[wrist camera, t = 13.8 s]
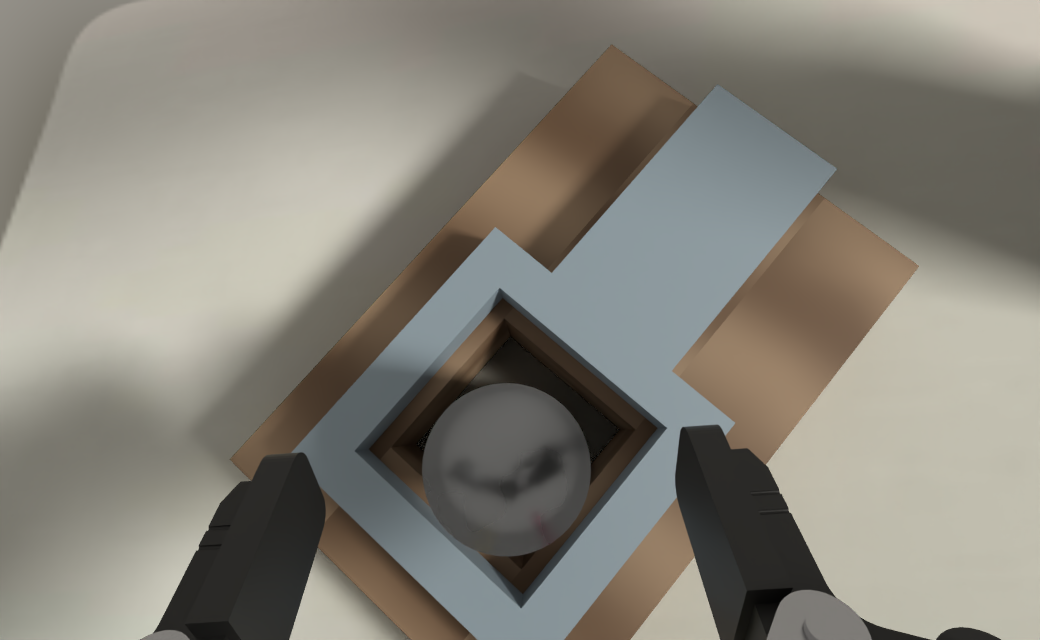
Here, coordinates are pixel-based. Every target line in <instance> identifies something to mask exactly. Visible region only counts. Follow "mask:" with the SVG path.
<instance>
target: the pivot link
mask: <svg viewBox="0 0 1040 640" xmlns="http://www.w3.org/2000/svg"><path fill="white" fill-rule="evenodd" d="M836 170H837V168H835V167H834V166H832V165H831V164H830V163H828V162H827V161H825V160H824V159H823V158H821V157H820V156H818V155H817V154H816V153H814V152H813V151H811V150H810V149H808V148H807V147H806V146H804V145H803V144H801V143H800V142H799V141H797V140H796V139H794V138H793V137H792V136H790V135H789V134H787V133H786V132H784V131H783V130H782V129H780V128H779V127H777V126H776V125H775V124H773V123H772V122H770V121H769V120H768V119H766V118H765V117H763V116H762V115H760V114H759V113H758V112H756V111H755V110H753V109H752V108H751V107H749V106H748V105H746V104H745V103H744V102H742V101H741V100H739V99H738V98H736V97H735V96H734V95H732V94H731V93H729V92H728V91H727V90H725V89H724V88H722V87H721V86H720V85H718V84H717V85H716V86H715V88H714V89H713V90H712V91H711V92H710V93H709V94H708V96H707V97H706V98H705V99H704V100H703V101H702V102H701V104H700V105H699V106H698V107H697V108H696V109H695V110H694V112H693V113H692V114H691V115H690V116H689V117H688V118H687V119H686V121H685V122H684V123H683V124H682V125H681V126H680V127H679V129H678V130H677V131H676V132H675V133H674V134H673V135H672V137H671V138H670V139H669V140H668V141H667V142H666V143H665V145H664V146H663V147H662V148H661V149H660V150H659V151H658V153H657V154H656V155H655V156H654V157H653V158H652V159H651V161H650V162H649V163H648V164H647V165H646V166H645V167H644V169H643V170H642V171H641V172H640V173H639V174H638V175H637V176H636V178H635V179H634V180H633V181H632V182H631V183H630V184H629V186H628V187H627V188H626V189H625V190H624V191H623V192H622V194H621V195H620V196H619V197H618V198H617V199H616V200H615V202H614V203H613V204H612V205H611V206H610V207H609V208H608V210H607V211H606V212H605V213H604V214H603V215H602V216H601V218H600V219H599V220H598V221H597V222H596V223H595V224H594V226H593V227H592V228H591V229H590V230H589V231H588V232H587V233H586V235H585V236H584V237H583V238H582V239H581V240H580V241H579V243H578V244H577V245H576V246H575V247H574V248H573V249H572V251H571V252H570V253H569V254H568V255H567V256H566V257H565V259H564V260H563V261H562V262H561V263H560V264H559V265H558V267H557V268H556V269H555V270H554V271H553V272H552V273H551V272H550V271H549V270H547V269H546V268H545V267H544V266H543V265H541V264H540V263H539V262H538V261H536V260H535V259H534V258H533V257H532V256H530V255H529V254H528V253H527V252H525V251H524V250H523V249H522V248H521V247H519V246H518V245H517V244H516V243H514V242H513V241H512V240H511V239H509V238H508V237H507V236H506V235H505V234H503V233H502V232H501V231H500V230H498V229H497V228H496V227H495V228H494V229H493V230H492V231H491V232H490V234H489V235H488V236H487V237H486V238H485V239H484V240H483V241H482V242H481V244H480V245H479V246H478V247H477V248H476V249H475V250H474V251H473V252H472V253H471V255H470V256H469V257H468V258H467V259H466V260H465V261H464V262H463V263H462V265H461V266H460V267H459V268H458V269H457V270H456V271H455V272H454V273H453V274H452V276H451V277H450V278H449V279H448V280H447V281H446V282H445V283H444V284H443V286H442V287H441V288H440V289H439V290H438V291H437V292H436V293H435V294H434V295H433V297H432V298H431V299H430V300H429V301H428V302H427V303H426V304H425V305H424V306H423V308H422V309H421V310H420V311H419V312H418V313H417V314H416V315H415V316H414V318H413V319H412V320H411V321H410V322H409V323H408V324H407V325H406V326H405V327H404V329H403V330H402V331H401V332H400V333H399V334H398V335H397V336H396V337H395V339H394V340H393V341H392V342H391V343H390V344H389V345H388V346H387V347H386V348H385V350H384V351H383V352H382V353H381V354H380V355H379V356H378V357H377V358H376V360H375V361H374V362H373V363H372V364H371V365H370V366H369V367H368V368H367V369H366V371H365V372H364V373H363V374H362V375H361V376H360V377H359V378H358V379H357V381H356V382H355V383H354V384H353V385H352V386H351V387H350V388H349V389H348V390H347V392H346V393H345V394H344V395H343V396H342V397H341V398H340V399H339V400H338V402H337V403H336V404H335V405H334V406H333V407H332V408H331V409H330V410H329V411H328V413H327V414H326V415H325V416H324V417H323V418H322V419H321V420H320V421H319V422H318V424H317V425H316V426H315V427H314V428H313V429H312V430H311V431H310V432H309V434H308V435H307V436H306V437H305V438H304V439H303V440H302V441H301V442H300V443H299V445H298V446H297V447H296V448H295V449H294V450H293V451H292V452H291V453H299V452H303V453H304V454H305V455H306V456H307V458H308V460H309V462H310V465H311V467H312V470H313V472H314V474H315V477H316V479H317V482H318V484H319V486H320V487H321V488H322V489H323V490H324V491H325V492H326V493H327V494H328V495H329V496H330V497H331V498H332V499H333V500H334V501H335V502H336V503H337V504H338V505H339V506H340V507H341V508H342V509H343V510H344V511H346V512H347V513H348V514H349V515H350V516H351V517H352V518H353V519H354V520H355V521H356V522H357V523H358V524H359V525H360V526H361V527H362V528H363V529H364V530H365V531H366V532H367V533H368V534H369V535H370V536H371V537H372V538H373V539H374V540H375V541H376V542H377V543H378V544H379V545H380V546H382V547H383V548H384V549H385V550H386V551H387V552H388V553H389V554H390V555H391V556H392V557H393V558H394V559H395V560H396V561H397V562H398V563H399V564H400V565H401V566H402V567H403V568H404V569H405V570H406V571H407V572H408V573H409V574H410V575H411V576H412V577H413V578H414V579H415V580H417V581H418V582H419V583H420V584H421V585H422V586H423V587H424V588H425V589H426V590H427V591H428V592H429V593H430V594H431V595H432V596H433V597H434V598H435V599H436V600H437V601H438V602H439V603H440V604H441V605H442V606H443V607H444V608H445V609H446V610H447V611H448V612H449V613H450V614H452V615H453V616H454V617H455V618H456V619H457V620H458V621H459V622H460V623H461V624H462V625H463V626H464V627H465V628H466V629H467V630H468V631H469V632H470V633H471V634H472V635H473V636H474V637H475V638H476V639H477V640H564V639H565V638H566V637H567V635H568V634H569V633H570V632H571V630H572V629H573V628H574V627H575V625H576V624H577V623H578V622H579V620H580V619H581V618H582V617H583V615H584V614H585V613H586V611H587V610H588V609H589V608H590V606H591V605H592V604H593V603H594V601H595V600H596V599H597V598H598V596H599V595H600V594H601V592H602V591H603V590H604V589H605V587H606V586H607V585H608V584H609V582H610V581H611V580H612V579H613V577H614V576H615V575H616V574H617V572H618V571H619V570H620V568H621V567H622V566H623V565H624V563H625V562H626V561H627V560H628V558H629V557H630V556H631V555H632V553H633V552H634V551H635V549H636V548H637V547H638V546H639V544H640V543H641V542H642V541H643V539H644V538H645V537H646V536H647V534H648V533H649V532H650V531H651V529H652V528H653V527H654V525H655V524H656V523H657V522H658V520H659V519H660V518H661V517H662V515H663V514H664V513H665V512H666V510H667V509H668V508H669V506H670V505H671V504H672V503H673V501H674V500H675V499H676V498H677V495H676V487H675V471H676V462H677V454H678V445H679V437H680V430H681V428H682V427H688V426H702V425H716V424H718V425H719V426H720V427H721V428H722V430H723V432H724V434H725V436H726V434H727V433H728V432H729V431H730V429H731V428H732V427H733V426H734V424H735V422H734V421H732V420H731V419H730V418H729V417H727V416H726V415H725V414H724V413H723V412H721V411H720V410H719V409H718V408H716V407H715V406H714V405H713V404H712V403H710V402H709V401H708V400H707V399H705V398H704V397H703V396H702V395H701V394H699V393H698V392H697V391H696V390H694V389H693V388H692V387H691V386H689V385H688V384H687V383H686V382H685V381H683V380H682V379H681V378H680V377H678V376H677V375H676V374H675V373H674V372H672V370H673V369H674V367H675V366H676V365H677V364H678V363H679V361H680V360H681V359H682V358H683V357H684V355H685V354H686V353H687V352H688V350H689V349H690V348H691V347H692V346H693V344H694V343H695V342H696V341H697V339H698V338H699V337H700V336H701V335H702V333H703V332H704V331H705V330H706V328H707V327H708V326H709V325H710V324H711V322H712V321H713V320H714V319H715V317H716V316H717V315H718V314H719V313H720V311H721V310H722V309H723V308H724V307H725V305H726V304H727V303H728V302H729V300H730V299H731V298H732V297H733V296H734V294H735V293H736V292H737V291H738V289H739V288H740V287H741V286H742V285H743V283H744V282H745V281H746V280H747V278H748V277H749V276H750V275H751V274H752V272H753V271H754V270H755V269H756V267H757V266H758V265H759V264H760V263H761V261H762V260H763V259H764V258H765V257H766V255H767V254H768V253H769V252H770V250H771V249H772V248H773V247H774V246H775V244H776V243H777V242H778V241H779V239H780V238H781V237H782V236H783V235H784V233H785V232H786V231H787V230H788V228H789V227H790V226H791V225H792V224H793V222H794V221H795V220H796V219H797V217H798V216H799V215H800V214H801V213H802V211H803V210H804V209H805V208H806V207H807V205H808V204H809V203H810V202H811V200H812V199H813V198H814V197H815V196H816V194H817V193H818V192H819V191H820V189H821V188H822V187H823V186H824V185H825V183H826V182H827V181H828V180H829V178H830V177H831V176H832V175H833V174H834V172H835V171H836ZM502 298H503V299H505V300H506V301H507V302H508V303H509V304H511V305H512V306H513V307H514V308H515V309H516V310H518V311H519V312H520V313H521V314H522V315H524V316H525V317H526V318H527V319H528V320H530V321H531V322H532V323H533V324H534V325H536V326H537V327H538V328H539V329H540V330H541V331H543V332H544V333H545V334H546V335H547V336H549V337H550V338H551V339H552V340H553V341H555V342H556V343H557V344H558V345H559V346H561V347H562V348H563V349H564V350H565V351H566V352H568V353H569V354H570V355H571V356H572V357H574V358H575V359H576V360H577V361H578V362H580V363H581V364H582V365H583V366H584V367H586V368H587V369H588V370H589V371H590V372H591V373H593V374H594V375H595V376H596V377H597V378H599V379H600V380H601V381H602V382H603V383H605V384H606V385H607V386H608V387H609V388H611V389H612V390H613V391H614V392H615V393H616V394H618V395H619V396H620V397H621V398H622V399H624V400H625V401H626V402H627V403H628V404H630V405H631V406H632V407H633V408H634V409H636V410H637V411H638V412H639V413H640V414H641V415H643V416H644V417H645V418H646V419H647V420H649V421H650V422H651V423H652V424H653V425H655V426H656V427H657V429H656V431H655V432H654V433H653V434H652V436H651V437H650V438H649V439H648V441H647V442H646V443H645V444H644V446H643V447H642V448H641V449H640V450H639V452H638V453H637V454H636V455H635V457H634V458H633V459H632V460H631V462H630V463H629V464H628V465H627V466H626V468H625V469H624V470H623V471H622V473H621V474H620V475H619V476H618V478H617V479H616V480H615V481H614V482H613V484H612V485H611V486H610V487H609V489H608V490H607V491H606V492H605V494H604V495H603V496H602V497H601V499H600V500H599V501H598V502H597V503H596V505H595V506H594V507H593V508H592V510H591V511H590V512H589V513H588V515H587V516H586V517H585V518H584V519H583V521H582V522H581V523H580V524H579V526H578V527H577V528H576V529H575V531H574V532H573V533H572V534H571V536H570V537H569V538H568V539H567V540H566V542H565V543H564V544H563V545H562V547H561V548H560V549H559V550H558V552H557V553H556V554H555V555H554V556H553V558H552V559H551V560H550V561H549V563H548V564H547V565H546V566H545V568H544V569H543V570H542V571H541V573H540V574H539V575H538V576H537V577H536V579H535V580H534V581H533V582H532V584H531V585H530V586H529V587H528V589H527V590H526V591H525V592H524V593H523V594H522V593H521V592H520V591H519V590H518V589H517V588H516V587H515V586H514V585H512V584H511V583H510V582H509V581H508V580H507V579H506V578H505V577H504V576H503V575H502V574H501V573H500V572H499V571H498V570H496V569H495V568H494V567H493V566H492V565H491V564H490V563H489V562H488V561H487V560H486V559H485V558H484V557H483V556H482V555H481V554H479V553H478V552H477V551H475V550H473V549H471V548H469V547H467V546H465V545H464V544H462V543H461V542H459V541H458V540H456V539H455V538H454V537H453V536H452V535H450V534H449V533H448V532H447V531H446V530H445V528H444V527H443V526H442V525H441V524H440V523H439V521H438V520H437V518H436V517H435V515H434V513H433V511H432V509H431V507H429V506H428V505H427V504H426V503H425V502H424V501H423V500H422V499H421V498H420V497H419V496H418V495H417V494H416V493H415V492H413V491H412V490H411V489H410V488H409V487H408V486H407V485H406V484H405V483H404V482H403V481H402V480H401V479H400V478H399V477H398V476H396V475H395V474H394V473H393V472H392V471H391V470H390V469H389V468H388V467H387V466H386V465H385V464H384V463H383V462H382V461H380V460H379V459H378V458H377V457H376V456H375V455H374V454H373V453H372V452H371V451H370V450H369V448H370V447H371V446H372V445H373V444H374V443H375V441H376V440H377V439H378V438H379V437H380V436H381V435H382V434H383V432H384V431H385V430H386V429H387V428H388V427H389V426H390V425H391V423H392V422H393V421H394V420H395V419H396V418H397V417H398V415H399V414H400V413H401V412H402V411H403V410H404V409H405V408H406V406H407V405H408V404H409V403H410V402H411V401H412V400H413V399H414V397H415V396H416V395H417V394H418V393H419V392H420V391H421V390H422V388H423V387H424V386H425V385H426V384H427V383H428V382H429V380H430V379H431V378H432V377H433V376H434V375H435V374H436V373H437V371H438V370H439V369H440V368H441V367H442V366H443V365H444V364H445V362H446V361H447V360H448V359H449V358H450V357H451V356H452V354H453V353H454V352H455V351H456V350H457V349H458V348H459V347H460V345H461V344H462V343H463V342H464V341H465V340H466V339H467V338H468V336H469V335H470V334H471V333H472V332H473V331H474V330H475V328H476V327H477V326H478V325H479V324H480V323H481V322H482V321H483V319H484V318H485V317H486V316H487V315H488V314H489V313H490V312H491V310H492V309H493V308H494V307H495V306H496V305H497V304H498V302H499V301H500V300H501V299H502Z"/></svg>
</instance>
